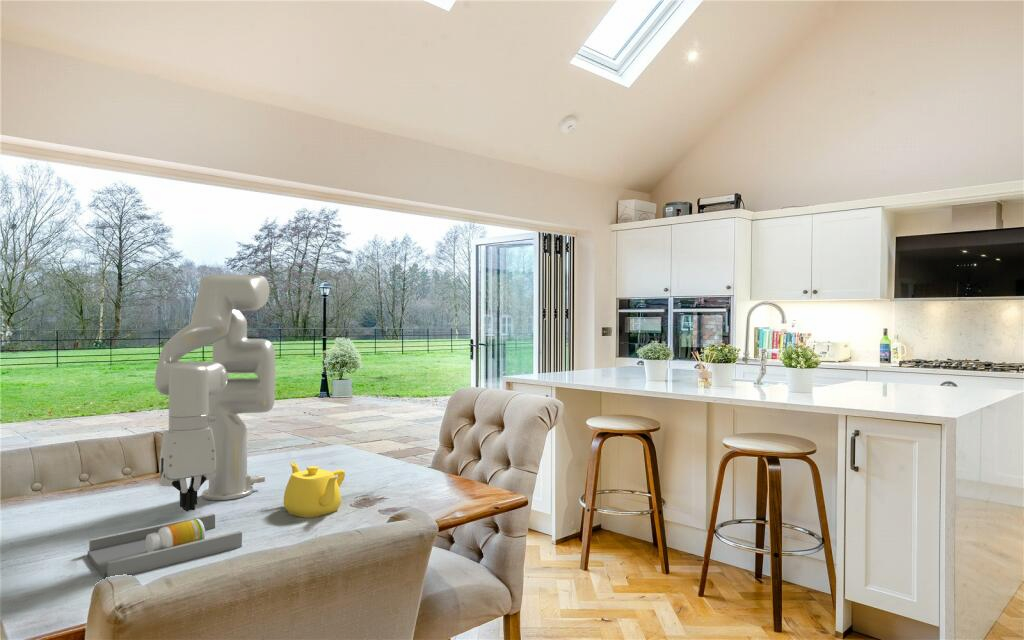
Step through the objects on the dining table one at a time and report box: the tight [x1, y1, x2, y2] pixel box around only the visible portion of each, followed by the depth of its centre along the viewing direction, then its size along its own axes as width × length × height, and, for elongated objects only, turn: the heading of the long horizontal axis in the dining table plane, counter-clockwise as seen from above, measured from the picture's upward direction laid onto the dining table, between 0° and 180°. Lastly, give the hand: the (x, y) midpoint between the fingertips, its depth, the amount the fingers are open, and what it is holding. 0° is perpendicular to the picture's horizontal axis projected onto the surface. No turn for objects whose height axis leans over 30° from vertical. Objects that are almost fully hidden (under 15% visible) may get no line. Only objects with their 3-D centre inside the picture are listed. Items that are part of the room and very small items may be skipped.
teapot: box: [283, 462, 346, 518], centre depth 156 cm, size 22×16×11 cm
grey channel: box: [87, 513, 243, 579], centre depth 127 cm, size 24×17×3 cm
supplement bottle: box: [146, 519, 206, 552], centre depth 124 cm, size 5×5×10 cm
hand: (188, 509), depth 130 cm, fingers closed
